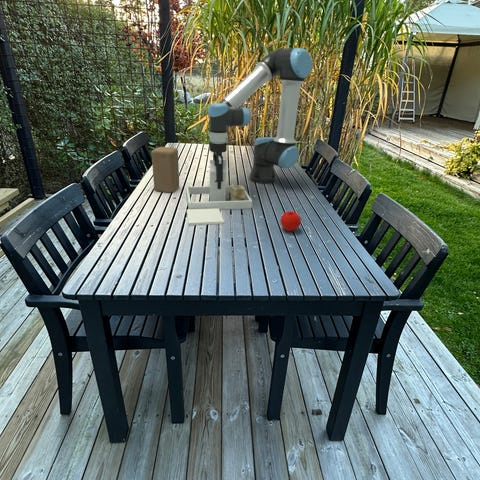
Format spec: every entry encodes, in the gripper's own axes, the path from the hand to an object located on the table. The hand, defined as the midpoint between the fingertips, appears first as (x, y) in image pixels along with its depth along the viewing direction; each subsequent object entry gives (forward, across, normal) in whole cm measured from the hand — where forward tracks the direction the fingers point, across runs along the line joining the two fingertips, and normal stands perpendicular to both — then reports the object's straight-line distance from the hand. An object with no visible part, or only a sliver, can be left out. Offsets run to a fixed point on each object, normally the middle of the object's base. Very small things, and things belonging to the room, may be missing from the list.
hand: (217, 192), depth 156 cm
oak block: (+4, +5, +8) cm, 11 cm away
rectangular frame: (+4, 0, 0) cm, 4 cm away
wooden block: (+4, -18, -23) cm, 30 cm away
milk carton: (+4, 0, 0) cm, 4 cm away
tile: (+4, +19, -8) cm, 21 cm away
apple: (+4, +34, +24) cm, 42 cm away
